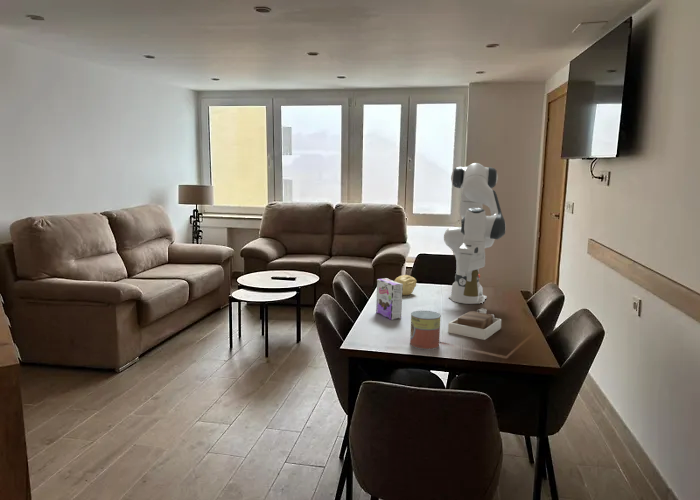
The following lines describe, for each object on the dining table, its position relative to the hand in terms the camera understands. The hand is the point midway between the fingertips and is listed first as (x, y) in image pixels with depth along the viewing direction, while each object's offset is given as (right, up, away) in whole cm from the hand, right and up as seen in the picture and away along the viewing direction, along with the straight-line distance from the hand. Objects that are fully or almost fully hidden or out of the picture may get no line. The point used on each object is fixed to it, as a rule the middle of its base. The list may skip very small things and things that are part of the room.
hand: (472, 280), depth 209 cm
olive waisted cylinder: (0, -7, +1) cm, 7 cm away
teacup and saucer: (+12, -20, +22) cm, 32 cm away
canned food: (-22, -24, -15) cm, 36 cm away
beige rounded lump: (-21, -12, +68) cm, 72 cm away
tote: (+1, -22, +1) cm, 22 cm away
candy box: (-33, -18, +24) cm, 45 cm away
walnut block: (+1, -21, +1) cm, 21 cm away
